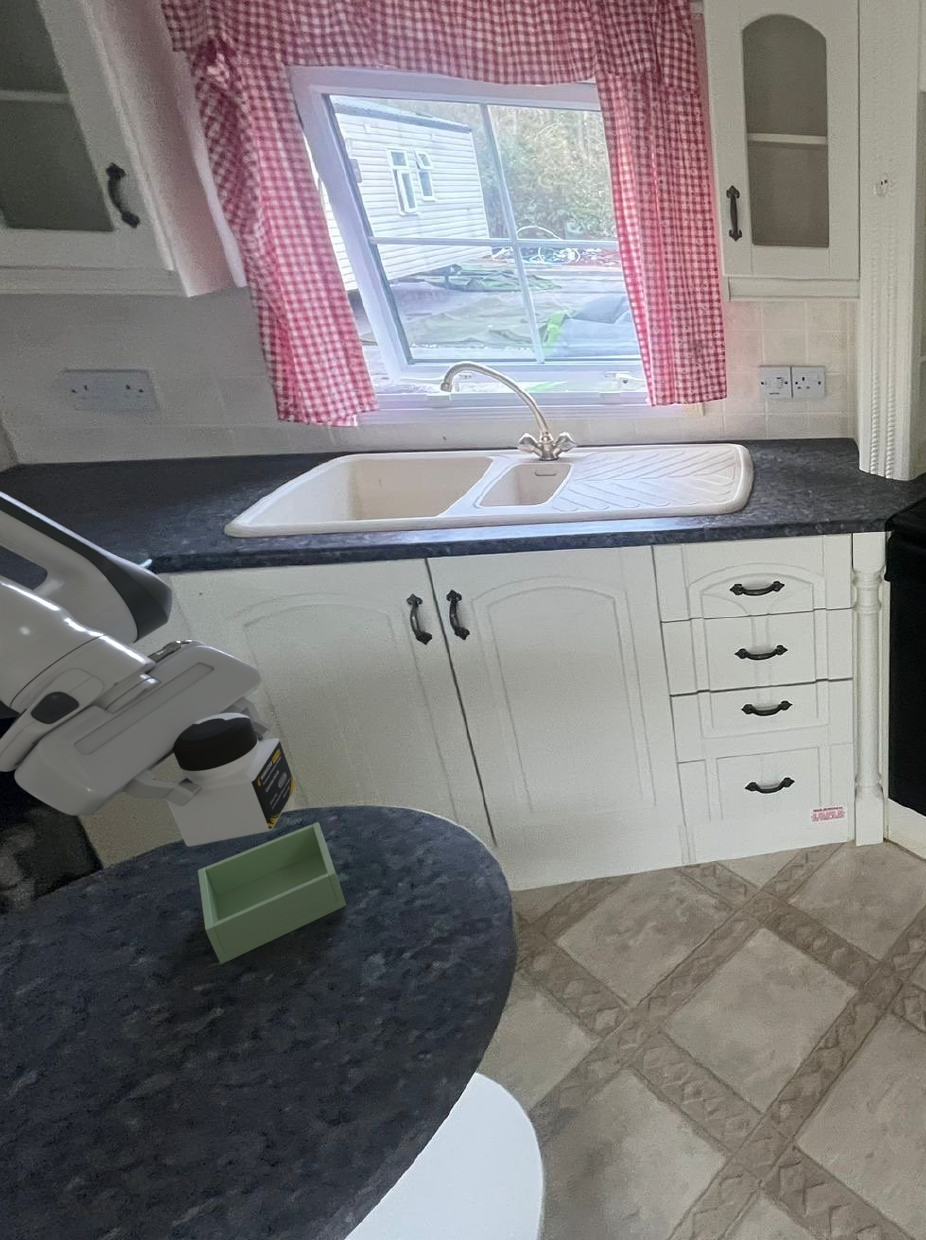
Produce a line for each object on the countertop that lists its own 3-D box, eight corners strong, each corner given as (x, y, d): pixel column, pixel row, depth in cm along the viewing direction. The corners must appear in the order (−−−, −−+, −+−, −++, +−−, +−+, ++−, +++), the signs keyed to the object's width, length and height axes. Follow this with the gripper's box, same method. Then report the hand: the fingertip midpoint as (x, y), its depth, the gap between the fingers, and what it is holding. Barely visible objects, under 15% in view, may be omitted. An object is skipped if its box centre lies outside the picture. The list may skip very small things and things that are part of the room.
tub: (220, 964, 81) (205, 930, 80) (212, 902, 88) (197, 869, 86) (346, 905, 89) (335, 873, 87) (329, 852, 95) (318, 821, 94)
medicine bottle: (272, 832, 82) (237, 740, 77) (185, 849, 79) (144, 755, 75) (297, 787, 88) (266, 699, 83) (217, 801, 85) (181, 711, 81)
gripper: (170, 650, 87) (288, 721, 91) (-36, 776, 68) (126, 858, 72) (199, 616, 86) (317, 689, 90) (-2, 735, 67) (160, 820, 71)
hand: (231, 766), depth 81 cm, fingers closed on medicine bottle, 8 cm apart
